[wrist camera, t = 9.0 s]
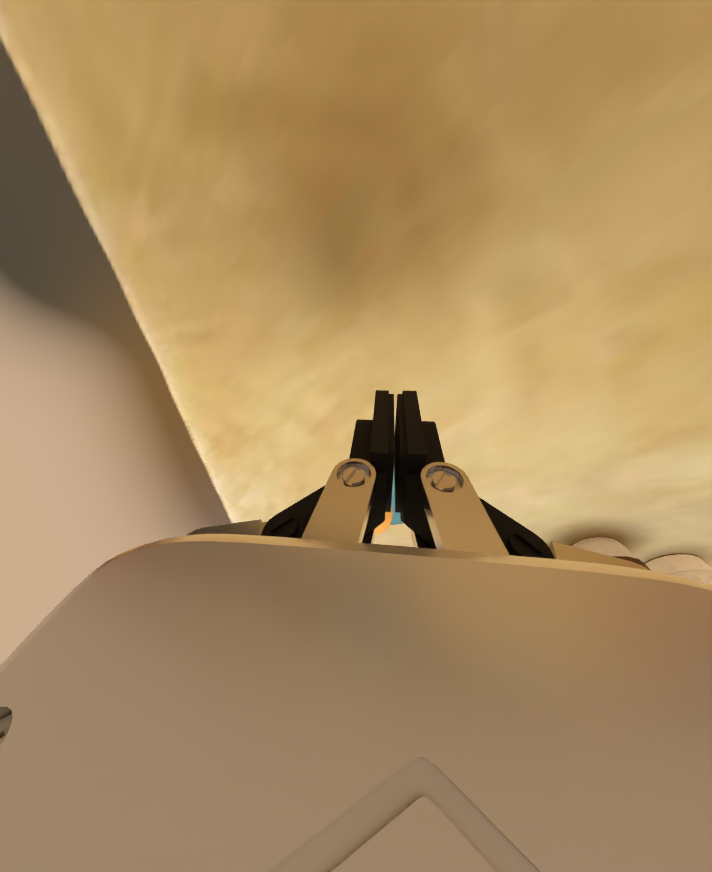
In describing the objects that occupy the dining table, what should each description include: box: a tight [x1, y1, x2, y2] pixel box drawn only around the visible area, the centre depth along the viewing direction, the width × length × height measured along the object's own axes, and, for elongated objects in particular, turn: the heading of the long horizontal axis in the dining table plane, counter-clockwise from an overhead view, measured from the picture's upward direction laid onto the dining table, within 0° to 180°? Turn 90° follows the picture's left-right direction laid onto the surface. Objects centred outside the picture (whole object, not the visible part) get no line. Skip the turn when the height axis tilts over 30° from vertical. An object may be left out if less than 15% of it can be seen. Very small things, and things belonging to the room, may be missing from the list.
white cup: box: [645, 554, 712, 586], centre depth 34 cm, size 8×8×10 cm
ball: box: [375, 507, 393, 535], centre depth 33 cm, size 6×6×6 cm
